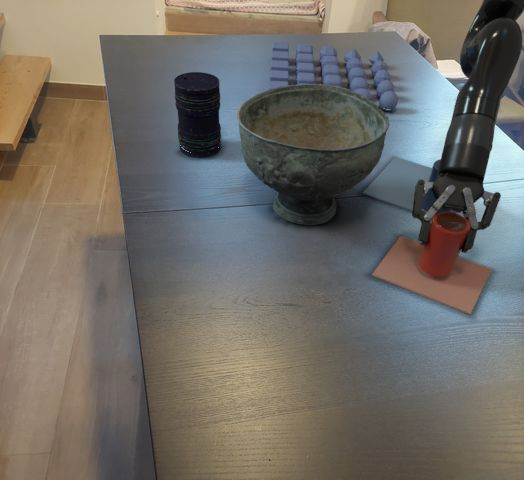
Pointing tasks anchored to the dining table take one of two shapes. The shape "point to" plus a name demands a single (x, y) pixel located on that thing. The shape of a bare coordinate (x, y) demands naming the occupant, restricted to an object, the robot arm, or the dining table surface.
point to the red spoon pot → (444, 243)
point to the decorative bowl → (310, 145)
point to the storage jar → (198, 114)
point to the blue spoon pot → (429, 197)
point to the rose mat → (433, 277)
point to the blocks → (333, 71)
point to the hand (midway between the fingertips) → (443, 248)
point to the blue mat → (399, 183)
